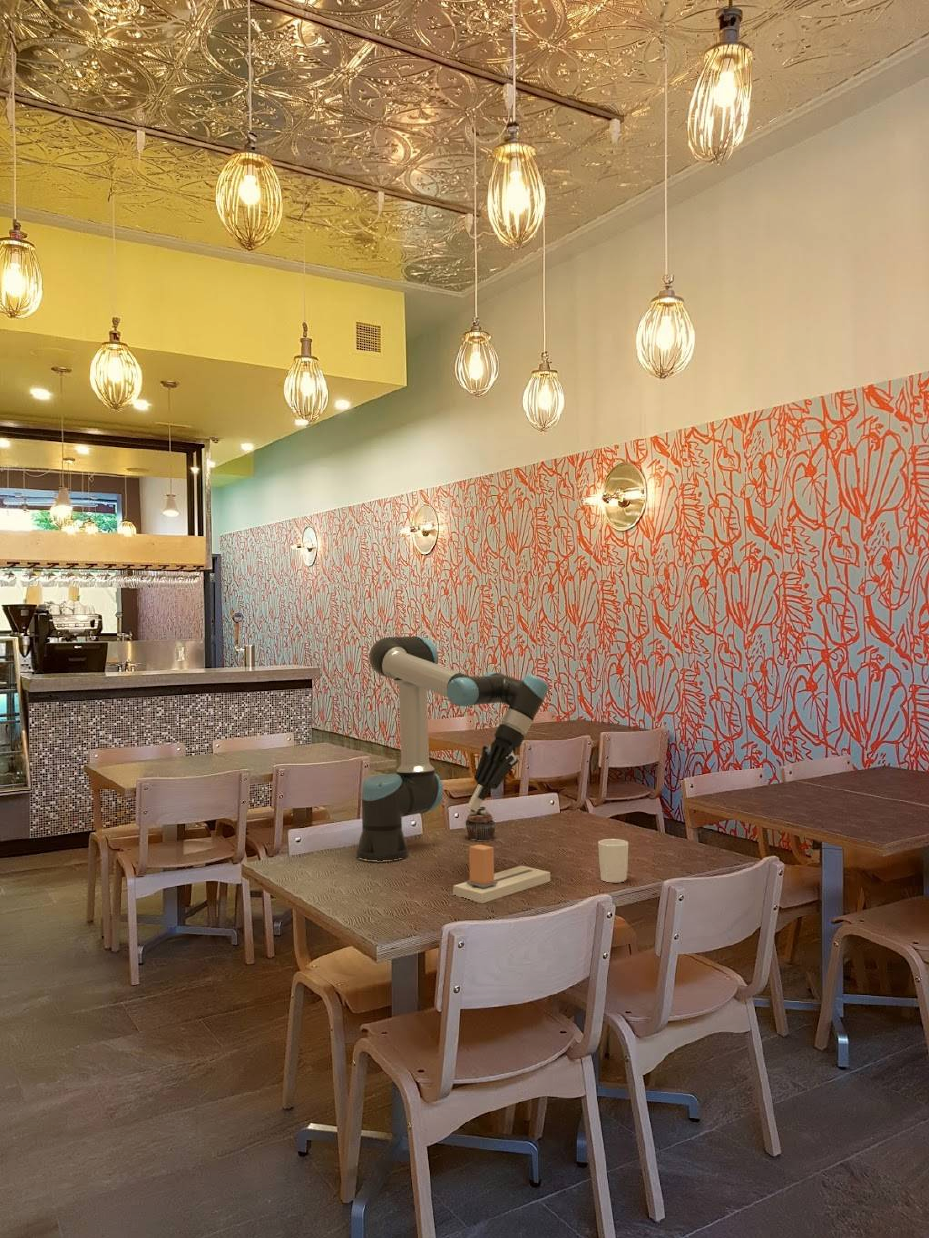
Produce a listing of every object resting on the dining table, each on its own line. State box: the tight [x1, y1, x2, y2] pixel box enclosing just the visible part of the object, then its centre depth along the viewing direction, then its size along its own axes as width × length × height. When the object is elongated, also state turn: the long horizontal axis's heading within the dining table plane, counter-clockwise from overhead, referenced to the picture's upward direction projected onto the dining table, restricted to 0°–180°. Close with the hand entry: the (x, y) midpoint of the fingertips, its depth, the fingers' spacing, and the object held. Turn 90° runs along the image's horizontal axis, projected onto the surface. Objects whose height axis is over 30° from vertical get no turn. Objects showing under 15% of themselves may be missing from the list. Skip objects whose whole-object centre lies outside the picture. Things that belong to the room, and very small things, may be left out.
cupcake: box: [465, 806, 497, 841], centre depth 287 cm, size 10×10×10 cm
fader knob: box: [465, 843, 497, 888], centre depth 226 cm, size 5×6×9 cm
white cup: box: [597, 838, 629, 883], centre depth 237 cm, size 8×8×10 cm
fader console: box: [452, 865, 551, 904], centre depth 231 cm, size 26×10×2 cm, turn 135°
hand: (472, 809), depth 235 cm, fingers closed
